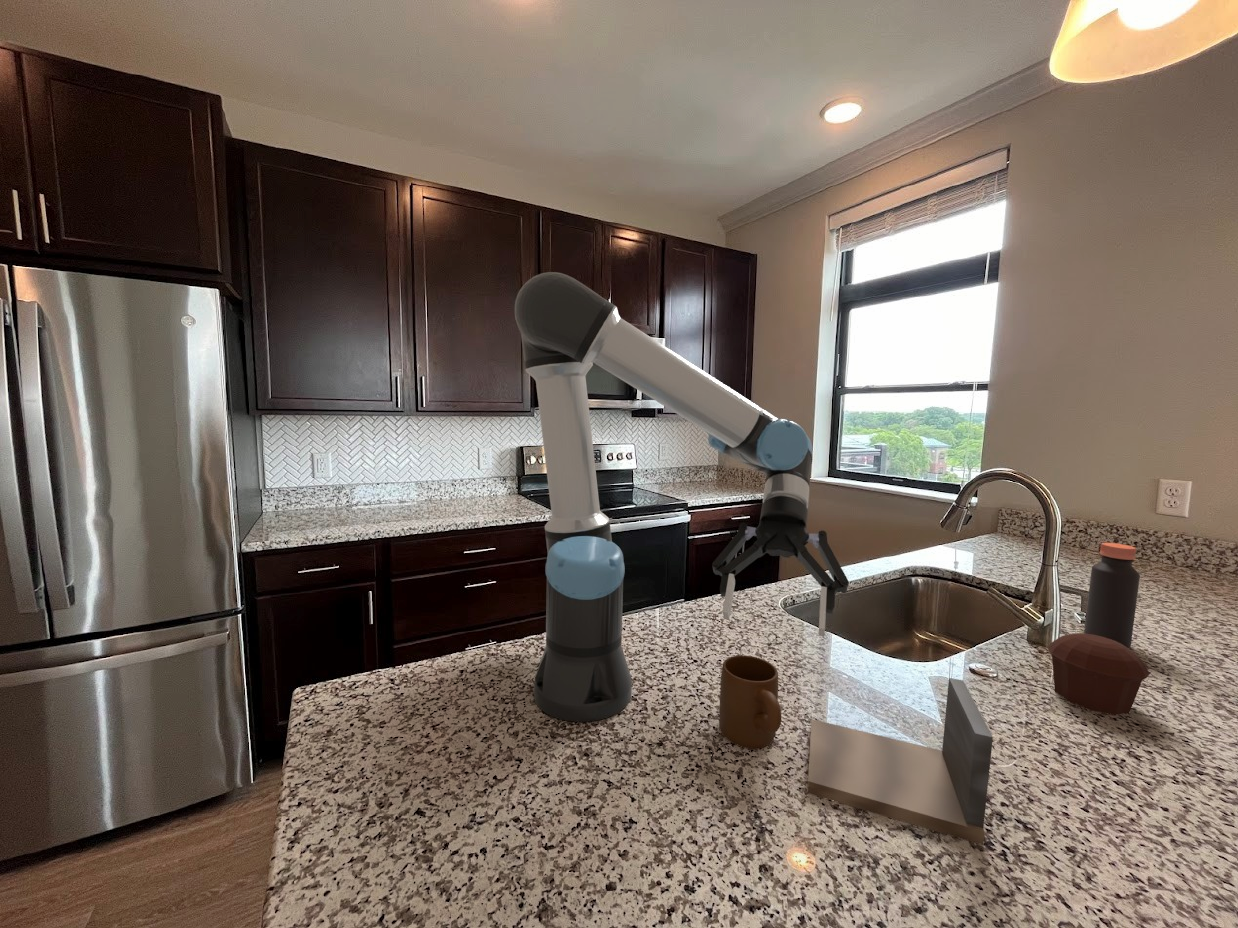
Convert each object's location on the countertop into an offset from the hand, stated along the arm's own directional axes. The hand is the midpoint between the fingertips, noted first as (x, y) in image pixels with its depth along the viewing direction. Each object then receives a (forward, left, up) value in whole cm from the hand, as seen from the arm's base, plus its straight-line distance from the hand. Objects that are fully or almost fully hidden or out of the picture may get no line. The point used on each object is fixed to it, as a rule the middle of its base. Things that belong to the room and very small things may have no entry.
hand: (772, 624), depth 73 cm
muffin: (+47, +25, -13) cm, 55 cm away
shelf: (+15, -9, -13) cm, 22 cm away
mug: (-1, -9, -13) cm, 16 cm away
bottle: (+60, +53, -13) cm, 81 cm away
